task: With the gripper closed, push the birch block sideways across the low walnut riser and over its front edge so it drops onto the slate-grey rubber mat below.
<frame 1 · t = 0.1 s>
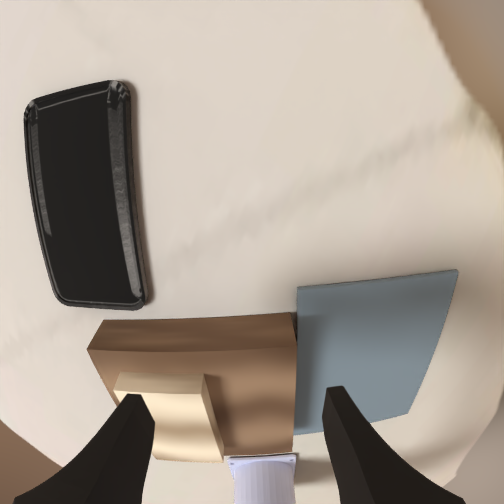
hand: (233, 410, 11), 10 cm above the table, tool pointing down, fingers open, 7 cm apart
walnut riser: (205, 383, 24), on the table
rubber mat: (368, 368, 24), on the table
phone: (85, 201, 18), on the table
birch block: (177, 415, 21), point 3 cm above the table, touching walnut riser
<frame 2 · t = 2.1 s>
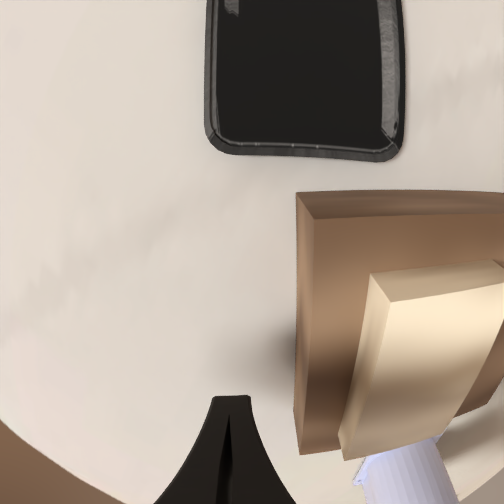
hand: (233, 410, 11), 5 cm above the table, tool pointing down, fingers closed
walnut riser: (417, 314, 15), on the table
birch block: (412, 363, 12), point 3 cm above the table, touching walnut riser
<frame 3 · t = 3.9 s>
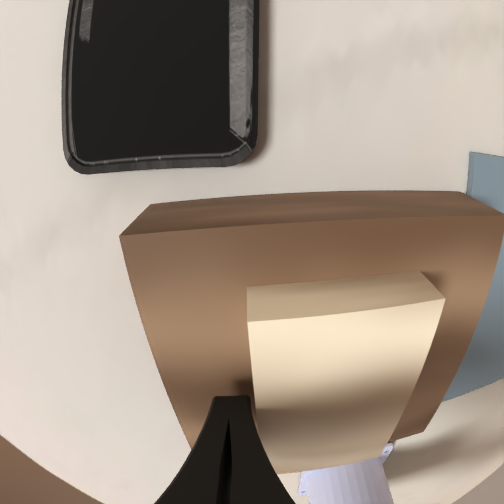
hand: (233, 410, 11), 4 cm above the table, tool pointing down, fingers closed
walnut riser: (318, 331, 15), on the table
birch block: (328, 383, 12), point 4 cm above the table, touching gripper
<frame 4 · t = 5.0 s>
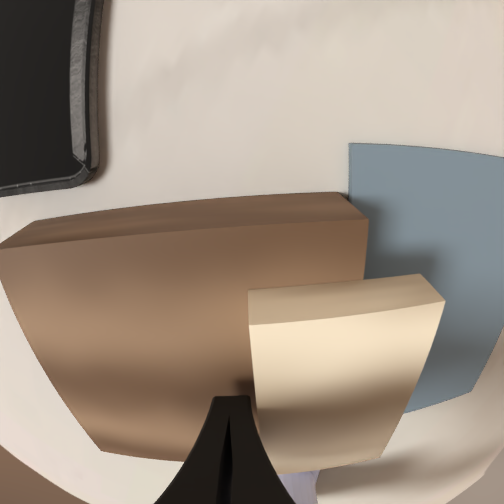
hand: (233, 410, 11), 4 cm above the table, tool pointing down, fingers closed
walnut riser: (189, 340, 15), on the table
rubber mat: (442, 313, 15), on the table
phone: (37, 40, 9), on the table
birch block: (329, 384, 12), point 4 cm above the table, touching walnut riser
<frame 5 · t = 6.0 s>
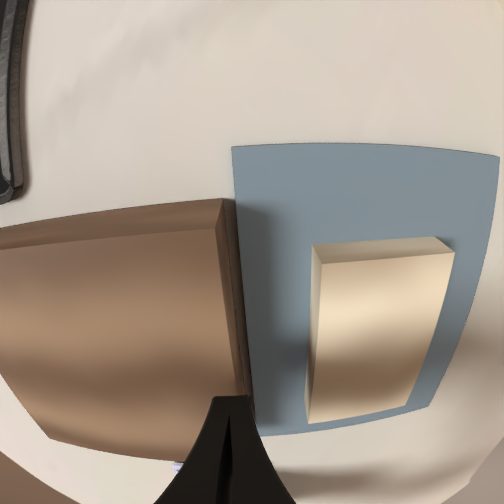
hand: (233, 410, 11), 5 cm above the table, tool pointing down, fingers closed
walnut riser: (110, 339, 15), on the table
rubber mat: (373, 324, 15), on the table
birch block: (377, 355, 13), point 2 cm above the table, tilted 180°, touching rubber mat
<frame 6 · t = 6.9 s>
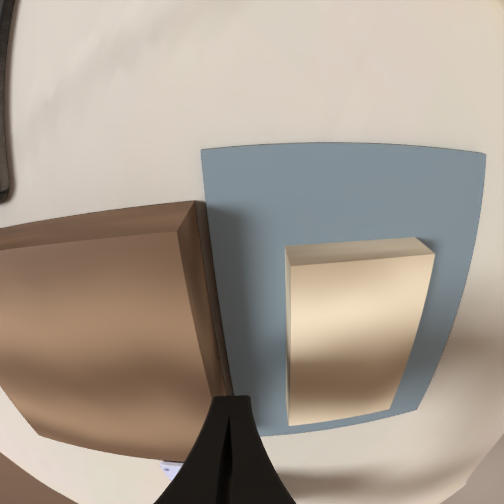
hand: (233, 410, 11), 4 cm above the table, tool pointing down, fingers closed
walnut riser: (93, 339, 15), on the table
rubber mat: (353, 327, 15), on the table
birch block: (355, 358, 13), point 2 cm above the table, tilted 180°, touching rubber mat
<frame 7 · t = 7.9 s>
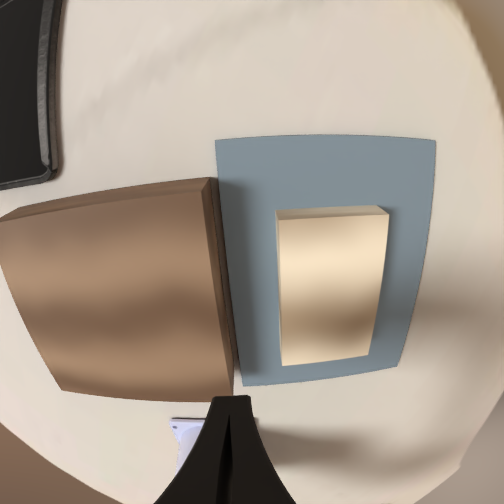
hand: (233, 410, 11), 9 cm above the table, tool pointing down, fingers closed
walnut riser: (121, 293, 19), on the table
rubber mat: (332, 279, 19), on the table
phone: (17, 81, 13), on the table
birch block: (332, 300, 17), point 2 cm above the table, tilted 180°, touching rubber mat
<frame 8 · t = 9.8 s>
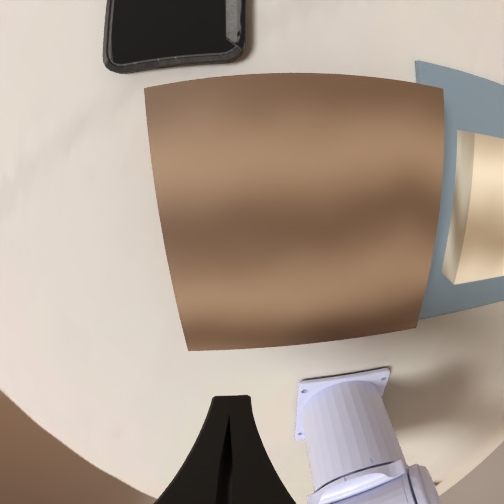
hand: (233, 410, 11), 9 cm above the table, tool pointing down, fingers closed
walnut riser: (300, 206, 17), on the table
rubber mat: (483, 202, 17), on the table
birch block: (497, 213, 15), point 2 cm above the table, tilted 180°, touching rubber mat
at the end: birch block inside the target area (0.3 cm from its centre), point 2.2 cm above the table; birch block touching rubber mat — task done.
